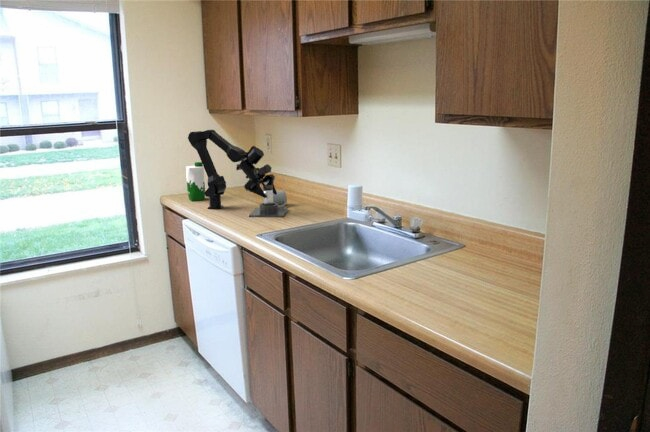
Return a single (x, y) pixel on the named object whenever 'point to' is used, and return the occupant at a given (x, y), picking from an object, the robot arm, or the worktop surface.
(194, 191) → the milk carton
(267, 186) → the black capped shaker
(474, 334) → the worktop surface
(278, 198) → the ceramic mug
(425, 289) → the worktop surface
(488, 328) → the worktop surface
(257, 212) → the firebox collar
